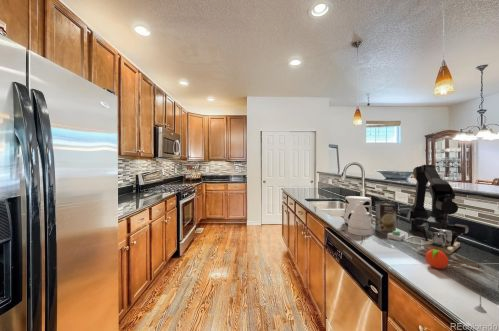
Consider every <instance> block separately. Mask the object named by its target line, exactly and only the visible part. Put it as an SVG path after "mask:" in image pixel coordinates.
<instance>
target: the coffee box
mask: <svg viewBox="0 0 499 331" xmlns="http://www.w3.org/2000/svg"><path fill="white" fill-rule="evenodd" d="M374 221H375V223H374V224H375V225H374V229H375V230H376V231H378V232H388V233H391V232H393V231H397V205H396V204H394V203H380V202H379V203H378V202H376V203H375V220H374Z"/></svg>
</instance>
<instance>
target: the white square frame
mask: <svg viewBox="0 0 499 331" xmlns="http://www.w3.org/2000/svg"><path fill="white" fill-rule="evenodd" d="M388 239H391V240H395V241H399V242H401V241H402V240H403V239H406V234H403V233H400V235H399V236H397V235H393V232H388V233H387V240H388Z"/></svg>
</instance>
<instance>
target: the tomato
mask: <svg viewBox="0 0 499 331" xmlns="http://www.w3.org/2000/svg"><path fill="white" fill-rule="evenodd" d="M425 260H426V263H427V264H428V265H429V266H431V267H432V268H435V269H444V268H446V267H448V264H449V257H448V256H447V253H443V252H442V251H440V250H437V249H432V250H431V249H428V250H427V252H426V253H425Z"/></svg>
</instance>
